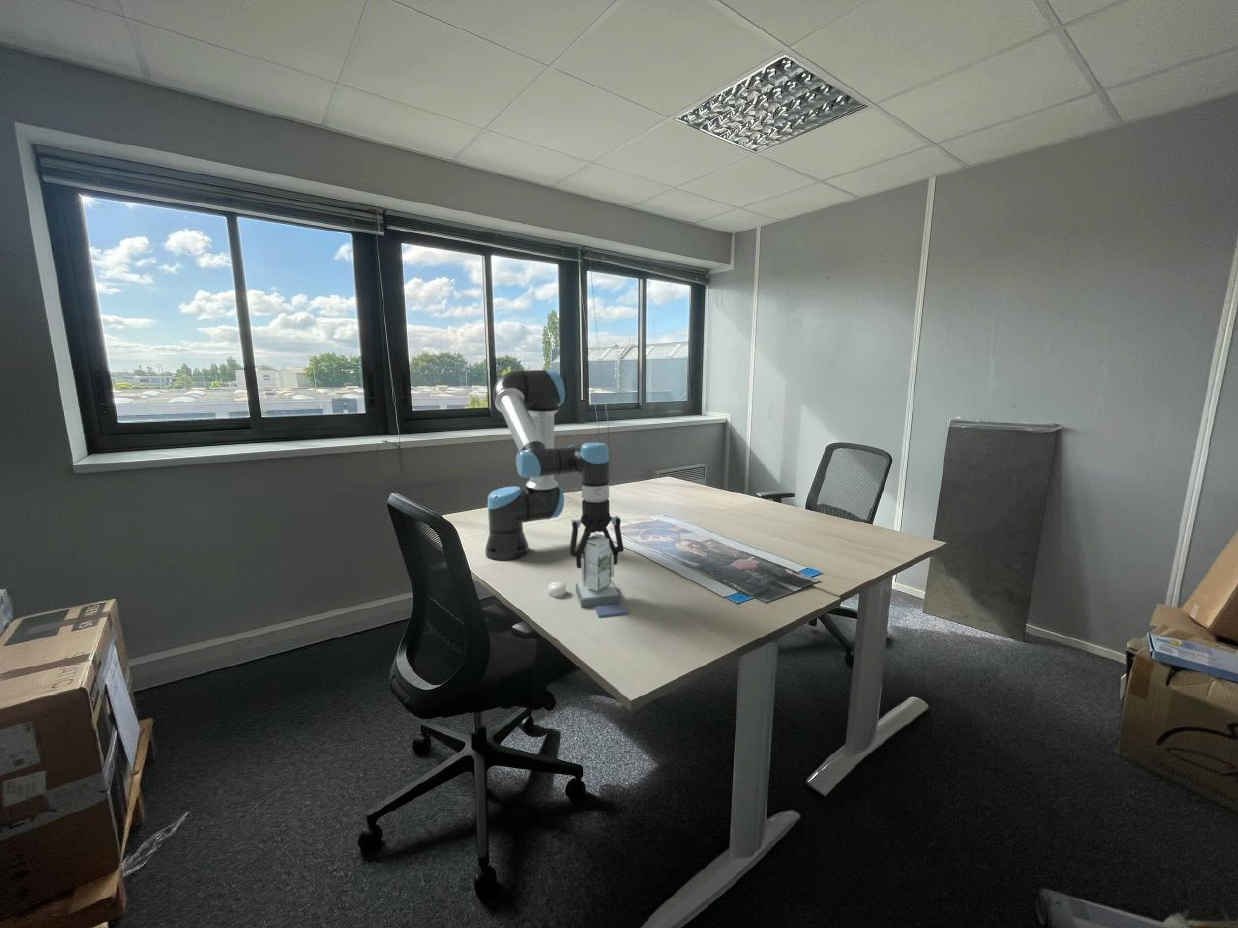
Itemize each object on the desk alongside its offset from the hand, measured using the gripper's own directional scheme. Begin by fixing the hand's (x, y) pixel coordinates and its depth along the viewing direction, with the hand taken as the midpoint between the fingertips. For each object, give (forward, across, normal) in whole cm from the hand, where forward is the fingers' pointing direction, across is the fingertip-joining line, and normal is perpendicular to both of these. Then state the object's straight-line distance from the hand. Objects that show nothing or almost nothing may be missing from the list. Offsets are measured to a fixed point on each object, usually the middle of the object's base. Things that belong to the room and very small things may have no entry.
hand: (597, 576), depth 138 cm
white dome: (+6, -11, +5) cm, 13 cm away
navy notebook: (+7, +2, -10) cm, 12 cm away
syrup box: (+3, 0, 0) cm, 3 cm away
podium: (+6, 0, 0) cm, 6 cm away
